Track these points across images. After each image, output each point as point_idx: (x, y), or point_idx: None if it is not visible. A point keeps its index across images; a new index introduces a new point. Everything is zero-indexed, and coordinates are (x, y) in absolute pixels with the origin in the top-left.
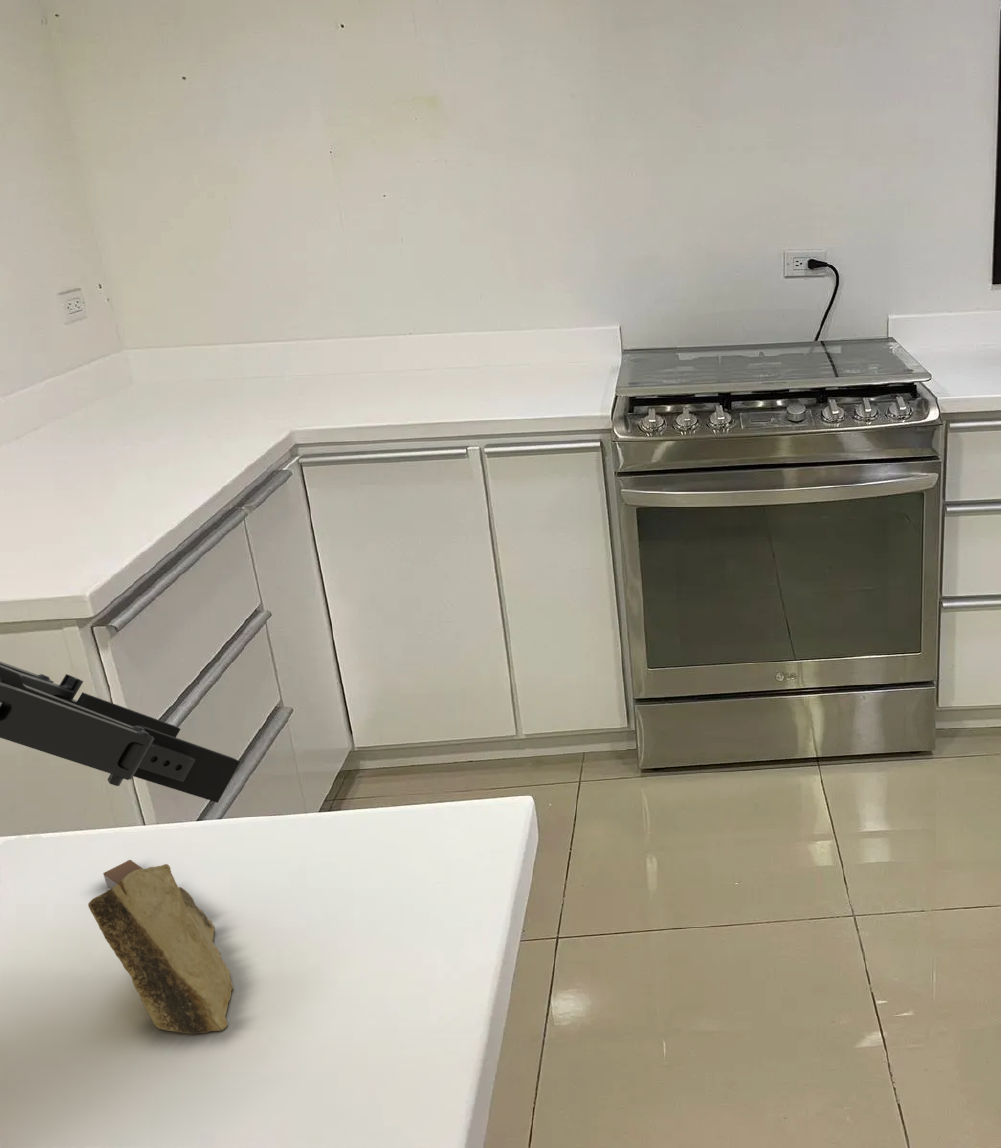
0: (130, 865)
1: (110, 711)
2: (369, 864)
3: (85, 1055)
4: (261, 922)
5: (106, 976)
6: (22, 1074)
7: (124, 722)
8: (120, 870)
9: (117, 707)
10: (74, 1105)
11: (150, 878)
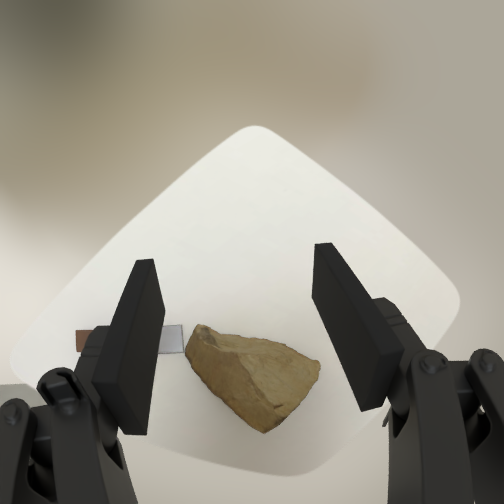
0: (82, 334)
1: (133, 347)
2: (222, 209)
3: (267, 436)
4: (222, 297)
5: (190, 400)
6: (252, 466)
7: (142, 331)
8: (83, 342)
9: (131, 332)
10: (309, 450)
11: (259, 376)
